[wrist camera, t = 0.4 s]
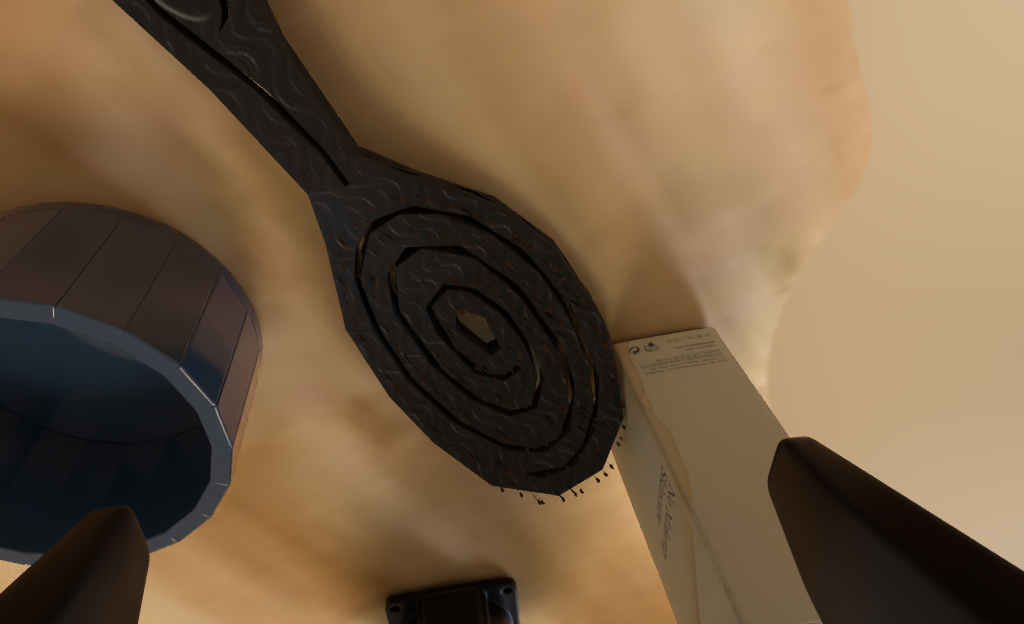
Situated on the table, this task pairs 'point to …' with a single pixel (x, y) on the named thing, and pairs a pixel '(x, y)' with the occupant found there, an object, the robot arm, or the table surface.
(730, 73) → the table surface
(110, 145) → the table surface
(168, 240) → the crock
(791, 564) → the cosmetic box
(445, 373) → the hairbrush
